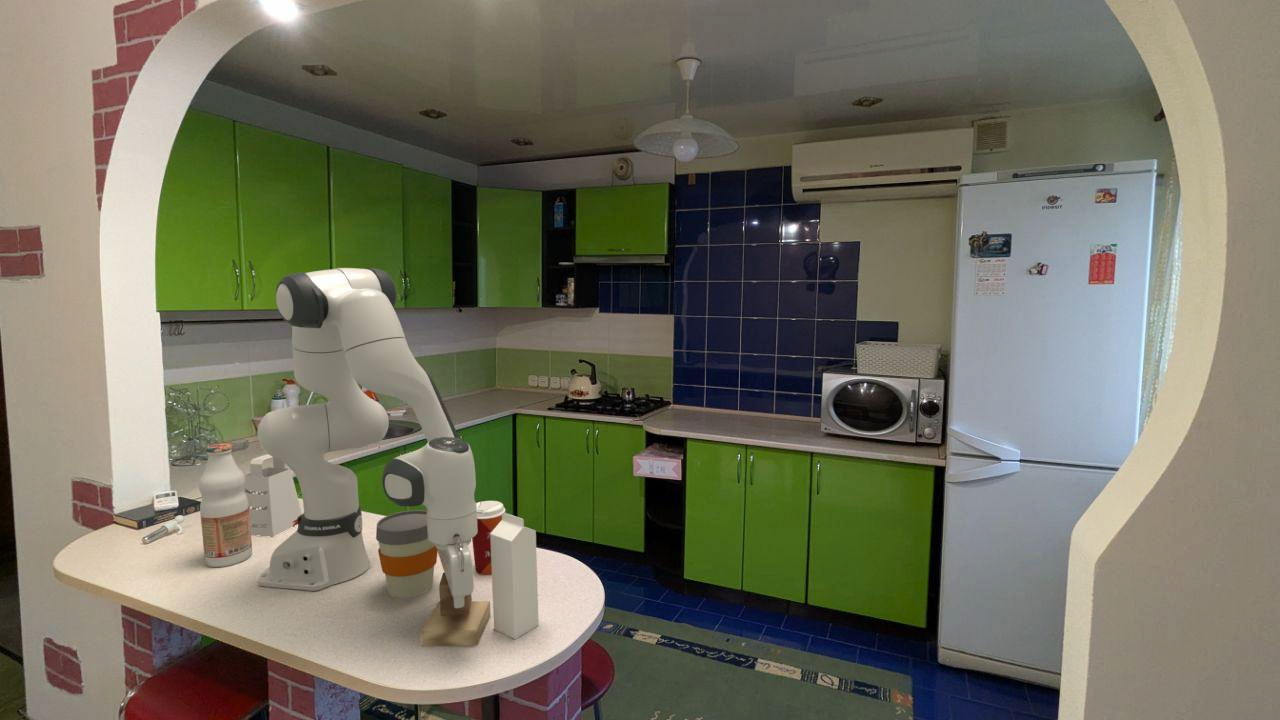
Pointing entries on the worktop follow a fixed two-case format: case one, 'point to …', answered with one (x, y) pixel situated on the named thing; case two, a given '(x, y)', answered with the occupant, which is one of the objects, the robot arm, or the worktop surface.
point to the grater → (271, 497)
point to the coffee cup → (485, 534)
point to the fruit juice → (224, 509)
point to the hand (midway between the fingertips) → (455, 597)
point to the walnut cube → (451, 600)
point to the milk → (514, 577)
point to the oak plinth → (456, 626)
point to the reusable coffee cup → (406, 553)
